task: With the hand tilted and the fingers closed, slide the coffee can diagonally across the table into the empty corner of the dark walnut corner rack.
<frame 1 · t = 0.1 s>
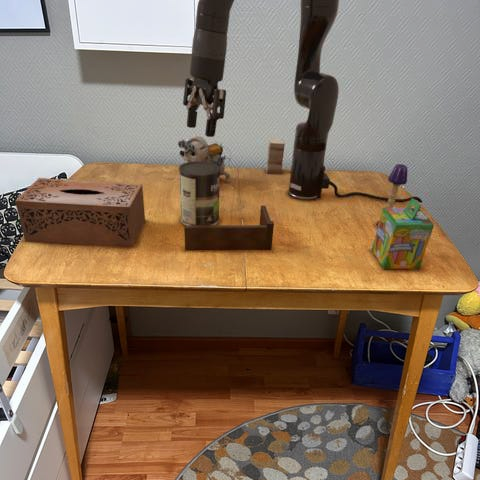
hand: (200, 131, 111), 22 cm above the table, tool pointing down, fingers open, 8 cm apart
brown banded block: (273, 172, 157), on the table
robotic toy: (203, 184, 145), on the table
tissue box cover: (88, 231, 117), on the table
coffee can: (199, 220, 124), on the table
chalk box: (394, 260, 112), on the table
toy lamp: (384, 227, 127), on the table
corner rack: (242, 238, 117), on the table
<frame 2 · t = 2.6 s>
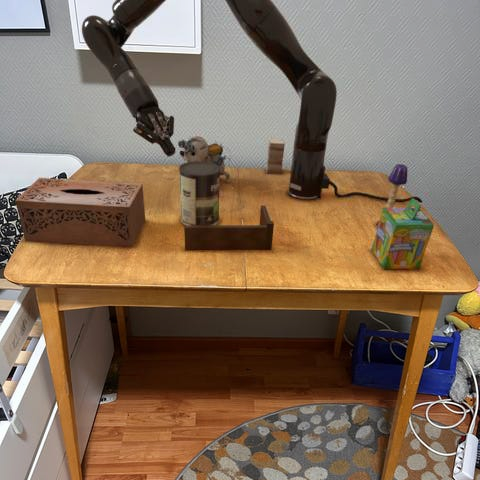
hand: (172, 154, 120), 15 cm above the table, tool tilted 45°, fingers closed
nothing on the table moved.
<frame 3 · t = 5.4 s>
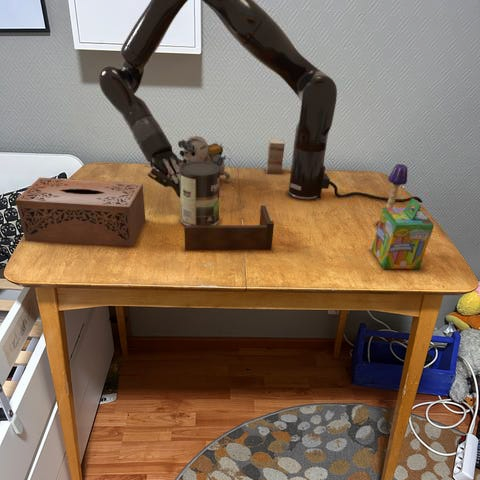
hand: (185, 197, 124), 5 cm above the table, tool tilted 45°, fingers closed
coffee can: (199, 220, 124), on the table, touching gripper
everything else where it was.
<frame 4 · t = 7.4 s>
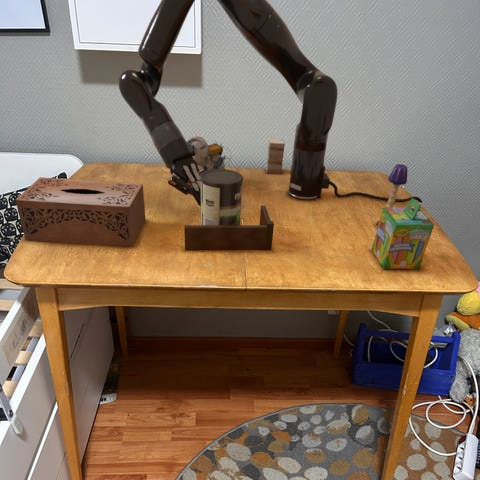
hand: (205, 205, 120), 5 cm above the table, tool tilted 45°, fingers closed
coffee can: (220, 230, 121), on the table, touching gripper
everything else where it was.
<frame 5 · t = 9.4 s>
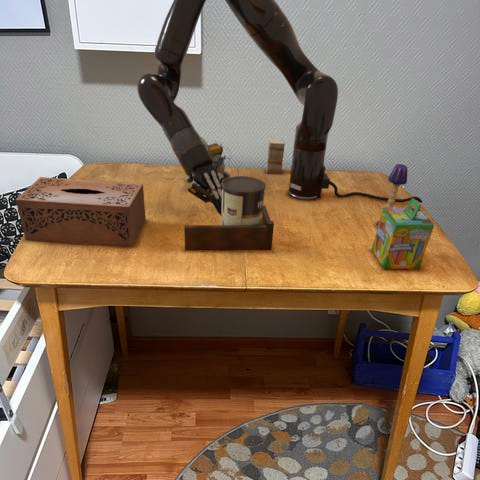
hand: (225, 213, 117), 5 cm above the table, tool tilted 45°, fingers closed
coffee can: (240, 238, 117), on the table, touching corner rack, gripper
everything else where it was.
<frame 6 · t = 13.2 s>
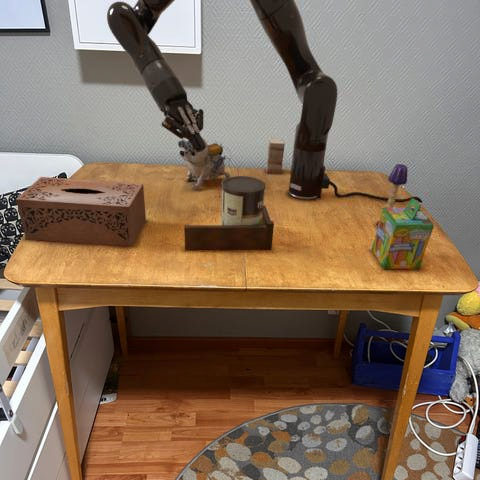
hand: (202, 149, 113), 19 cm above the table, tool tilted 45°, fingers closed
coffee can: (240, 238, 117), on the table
everything else where it was.
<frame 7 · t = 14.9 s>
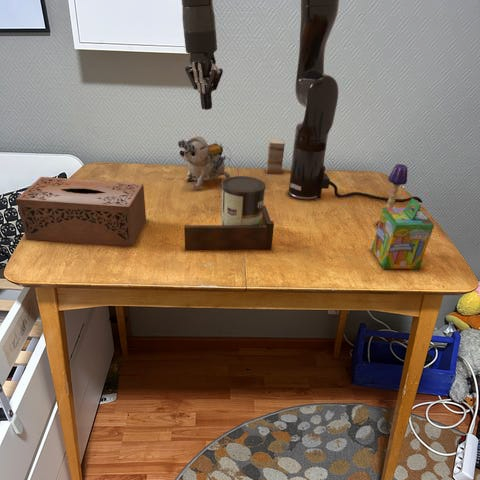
hand: (206, 108, 119), 25 cm above the table, tool pointing down, fingers closed
nothing on the table moved.
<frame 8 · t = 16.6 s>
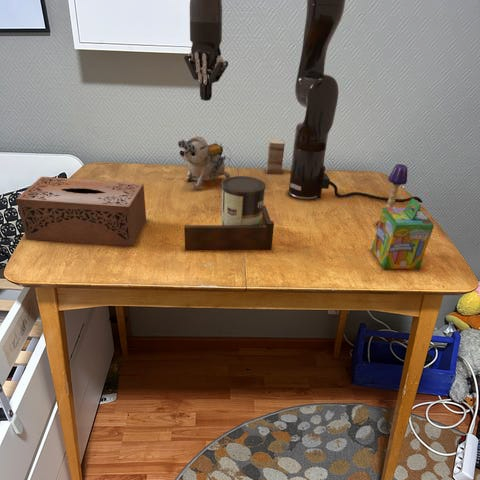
hand: (205, 99, 119), 27 cm above the table, tool pointing down, fingers closed
nothing on the table moved.
at the end: coffee can 2.0 cm from the target spot on the corner rack, point 0.0 cm above the corner rack's base; coffee can tilted 0°; coffee can moved 14.3 cm from its start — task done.
